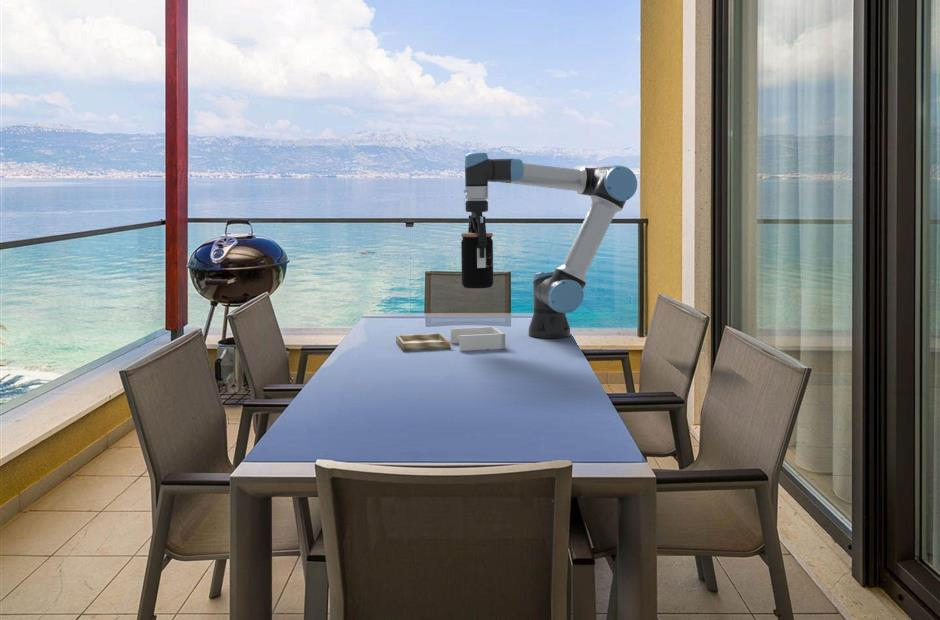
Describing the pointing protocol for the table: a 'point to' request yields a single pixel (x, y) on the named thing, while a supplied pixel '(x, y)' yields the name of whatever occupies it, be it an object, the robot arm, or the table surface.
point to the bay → (478, 338)
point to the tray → (422, 342)
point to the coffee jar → (470, 272)
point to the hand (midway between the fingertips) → (477, 266)
